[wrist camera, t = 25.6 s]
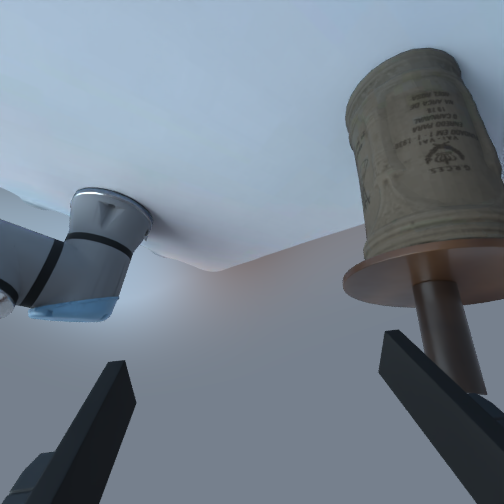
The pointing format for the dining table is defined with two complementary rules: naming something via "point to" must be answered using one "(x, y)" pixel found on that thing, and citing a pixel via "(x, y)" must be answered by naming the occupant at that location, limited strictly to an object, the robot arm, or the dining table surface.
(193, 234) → the dining table surface
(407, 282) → the lid
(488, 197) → the beer stein
